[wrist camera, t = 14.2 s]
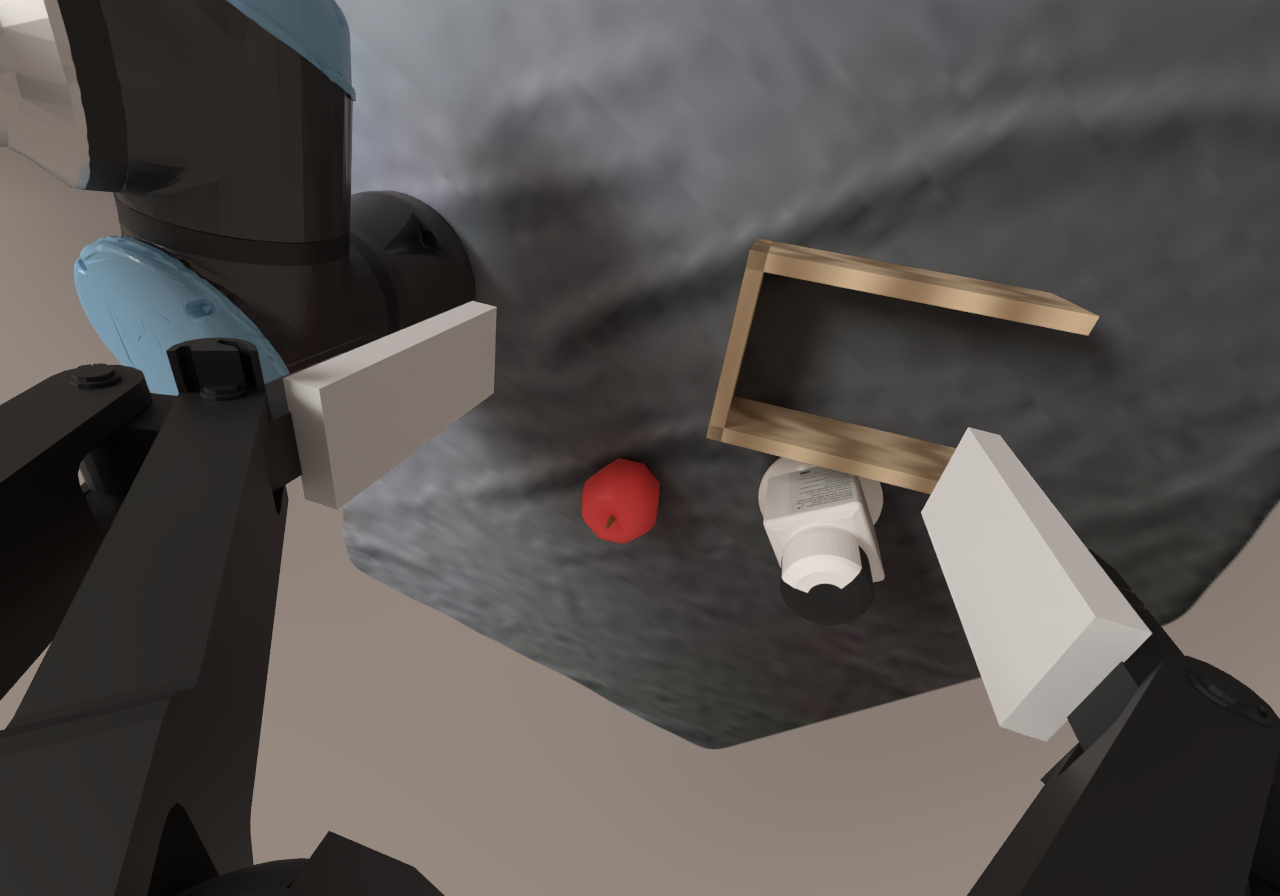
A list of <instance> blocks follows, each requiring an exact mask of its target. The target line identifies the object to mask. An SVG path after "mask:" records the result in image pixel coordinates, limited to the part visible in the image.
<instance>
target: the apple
mask: <svg viewBox="0 0 1280 896" xmlns="http://www.w3.org/2000/svg"><path fill="white" fill-rule="evenodd" d="M659 490H660V483H659V481H658V480H657V479H656V478H655V476H654V475H653V474H652V473H651V472H650V470H649V469H648V468H647V467H646V465H645V464H643V463H639V462H634V461H630V460H625V459H621V458H618V459H616V460H615V461H613V462H612V463H610V464H609V465H607V466H605V467H604V468H602V469H601V470H599V471H598V472H597V473H596V474H594V475H593V476H592V477H590V478H589V479H588V480H587V481H585V485H584V488H583V495H582V517H583V519H584V521H585V523H586V524H587V525H588V526H589V527H590V528H591V529H592V531H593V532H594V533H595V534H596V535H597V536H598V537H599V538H600V539H604V540H608V541H612V542H616V543H620V544H621V543H628V542H630V541H631V540H633V539H635V538H637V537H639V536H641V535H643V534H645V533H647V532H649V531H650V530H651V528H652V527H653V526H654V525H655V523H656V516H657V508H658V501H659Z"/></svg>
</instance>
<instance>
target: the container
mask: <svg viewBox="0 0 1280 896" xmlns="http://www.w3.org/2000/svg"><path fill="white" fill-rule="evenodd" d="M763 524H764V527H765V530H766V532H767V535H768V537H769V540H770V542H771V545H772V547H773V550H774V552H775V555H776V557H777V560H778V562H779V565H780V567H781V582H780V589H781V594H782V597H783V599H784V601H785V603H786V604H787V605H788V607H789V608H790V609H791V610H792V611H794V612H795V613H796V614H798V615H799V616H801V617H803V618H805V619H807V620H809V621H812V622H815V623H819V624H826V625H836V624H843V623H847V622H849V621H852V620H854V619H856V618H858V617H860V616H861V615H862V614H864V613H865V612H866V611H867V610H868V608H869V607H870V606H871V604H872V602H873V599H874V585H873V582H878V581H882V580H884V576H885V575H884V570H883V566H882V561H881V556H880V551H879V547H878V542H877V537H876V532H875V528H874V524H873V521H872V518H871V514H870V511H869V508H868V505H867V502H866V498H865V495H864V492H863V489H862V486H861V482H860V479H859V476H856V475H852V474H848V473H844V472H840V471H836V470H832V469H828V468H824V467H820V466H815V467H811V468H807V469H803V470H799V471H795V472H790V473H786V474H782V475H778V476H774V477H770V478H769V479H768V483H767V493H766V502H765V512H764V522H763Z"/></svg>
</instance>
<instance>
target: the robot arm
mask: <svg viewBox="0 0 1280 896" xmlns="http://www.w3.org/2000/svg"><path fill="white" fill-rule="evenodd" d="M353 101H356V93H355V90H354V88H353V87H352V81H351V51H350V32H349V27H348V23H347V21H346V18H345V16H344V14H343V12H342V10H341V9H340V7H339V6H338V4H337V3H336V2H335V0H0V147H6V148H8V149H10V150H12V151H15V152H17V153H19V154H21V155H23V156H25V157H26V158H27V159H29V160H30V161H32V162H33V163H35V164H36V165H38V166H39V167H41V168H42V169H44V170H45V171H47V172H48V173H49V174H51V175H52V176H54V177H55V178H57V179H58V180H60V181H61V182H63V183H64V184H66V185H67V186H69V187H70V188H76V189H82V190H93V191H105V192H113V194H114V197H115V202H116V206H117V211H118V216H119V222H120V227H121V233H122V236H121V237H119V236H108V237H103V238H102V239H98V240H97V242H95V243H92V244H89V245H88V246H86V247H85V248H84V249H83V250H82V252H81V253H80V258H79V259H77V260H76V262H75V266H74V280H75V286H76V290H77V294H78V297H79V299H80V302H81V304H82V307H83V309H84V311H85V313H86V315H87V317H88V319H89V321H90V322H91V324H92V326H93V327H94V329H95V331H96V332H97V334H98V335H99V336H100V338H101V339H102V341H103V342H104V344H105V345H106V346H107V347H108V349H109V350H110V351H111V352H112V353H113V355H114V356H115V357H116V358H117V359H118V361H119V362H121V364H122V365H123V366H122V365H106V364H93V365H82V366H79V367H78V368H75V369H71V370H67V371H63V372H61V373H58V374H56V375H53V376H51V377H49V378H47V379H45V380H44V381H42V382H40V383H38V384H37V385H35V386H33V387H31V388H30V389H28V390H26V391H25V392H23V393H21V394H19V395H17V396H16V397H14V398H12V399H10V400H9V401H7V402H5V403H3V404H2V405H0V700H1V699H2V698H3V697H4V696H5V695H6V693H7V692H8V691H9V690H10V689H11V688H12V687H13V685H14V684H15V683H16V682H17V681H18V680H19V679H20V677H21V676H22V675H23V674H24V673H25V672H26V671H27V669H28V668H29V667H30V666H31V665H32V664H33V663H34V661H35V660H36V659H37V658H38V657H39V656H40V654H41V653H42V652H43V651H44V650H45V649H46V648H47V646H48V645H49V644H50V643H51V642H52V643H51V645H50V647H49V649H48V651H47V653H46V655H45V656H44V658H43V660H42V663H41V664H40V666H39V668H38V670H37V672H36V674H35V676H34V678H33V680H32V682H31V684H30V686H29V688H28V690H27V692H26V694H25V696H24V698H23V700H22V702H21V704H20V706H19V708H18V709H17V711H16V713H15V716H14V717H13V719H12V720H11V722H10V723H9V724H8V726H7V727H6V729H5V730H1V731H0V896H444V895H443V894H442V893H441V892H440V891H439V890H438V889H437V888H436V887H435V886H434V885H433V884H432V883H431V882H430V881H428V880H427V879H426V878H425V877H424V876H423V875H422V874H421V873H420V872H418V870H417V869H416V868H415V867H413V866H410V865H408V864H406V863H403V862H401V861H399V860H396V859H394V858H391V857H389V856H387V855H385V854H382V853H380V852H377V851H375V850H373V849H370V848H368V847H366V846H363V845H361V844H359V843H356V842H354V841H352V840H349V839H347V838H345V837H342V836H340V835H337V834H335V833H333V832H330V831H329V832H328V833H327V835H326V836H325V837H324V839H323V840H322V842H321V843H320V844H319V846H318V847H317V849H316V850H315V852H314V853H313V854H312V856H311V858H310V859H305V858H299V859H287V860H276V861H271V862H266V863H261V864H256V865H253V855H252V845H251V834H250V818H251V817H250V816H251V806H252V797H253V789H254V781H255V773H256V764H257V756H258V747H259V739H260V731H261V723H262V714H263V705H264V698H265V690H266V681H267V673H268V665H269V655H270V648H271V640H272V631H273V623H274V615H275V607H276V598H277V590H278V582H279V574H280V564H281V557H282V549H283V540H284V532H285V524H286V515H287V507H288V495H287V491H286V484H287V483H289V482H291V481H292V480H294V479H295V478H297V477H299V476H300V475H301V478H302V484H303V489H304V495H305V499H307V500H310V501H313V502H316V503H319V504H322V505H325V506H328V507H332V508H334V509H339V508H340V507H341V506H343V505H344V504H345V503H347V502H348V501H349V500H351V499H352V498H353V497H355V496H356V495H357V494H359V493H360V492H361V491H363V490H364V489H365V488H367V487H368V486H369V485H371V484H372V483H373V482H375V481H376V480H378V479H379V478H380V477H382V476H383V475H384V474H386V473H387V472H388V471H390V470H391V469H392V468H394V467H395V466H396V465H398V464H399V463H400V462H402V461H403V460H404V459H406V458H407V457H408V456H410V455H411V454H412V453H414V452H415V451H417V450H418V449H419V448H421V447H422V446H423V445H425V444H426V443H427V442H429V441H430V440H431V439H433V438H434V437H435V436H437V435H438V434H439V433H441V432H442V431H443V430H445V429H446V428H447V427H449V426H450V425H451V424H453V423H454V422H455V421H457V420H458V419H460V418H461V417H462V416H464V415H465V414H466V413H468V412H469V411H470V410H472V409H473V408H474V407H476V406H477V405H478V404H480V403H481V402H482V401H484V400H485V399H486V398H488V397H489V396H490V395H492V394H493V393H494V373H495V343H496V313H497V307H495V306H491V305H487V304H483V303H479V302H475V285H474V279H473V274H472V269H471V266H470V263H469V260H468V257H467V255H466V253H465V250H464V248H463V247H462V245H461V243H460V241H459V239H458V238H457V236H456V235H455V233H454V232H453V230H452V229H451V228H450V226H449V225H448V224H447V223H446V222H445V221H444V220H443V218H442V217H441V216H440V215H438V214H437V213H436V212H435V211H434V210H433V209H432V208H430V207H429V206H427V205H426V204H425V203H423V202H421V201H420V200H418V199H416V198H414V197H412V196H409V195H407V194H404V193H400V192H395V191H367V192H360V193H356V194H353V195H351V160H352V108H353ZM149 389H150V390H151V391H152V392H154V393H150V392H149ZM79 469H80V471H81V473H82V476H83V478H84V480H85V482H84V483H83V484H82V485H81V486H80V484H79V478H78V471H79ZM921 514H922V516H923V519H924V522H925V525H926V527H927V530H928V533H929V535H930V538H931V541H932V544H933V546H934V549H935V552H936V555H937V557H938V560H939V563H940V565H941V568H942V571H943V574H944V576H945V579H946V582H947V584H948V587H949V590H950V593H951V595H952V598H953V601H954V603H955V606H956V609H957V612H958V614H959V617H960V620H961V623H962V625H963V628H964V631H965V633H966V636H967V639H968V642H969V644H970V647H971V650H972V652H973V655H974V658H975V661H976V663H977V666H978V669H979V671H980V674H981V677H982V679H983V682H984V685H985V688H986V691H987V693H988V696H989V699H990V701H991V704H992V707H993V710H994V712H995V715H996V717H997V720H998V723H999V726H1000V727H1003V728H1006V729H1009V730H1012V731H1015V732H1018V733H1021V734H1024V735H1027V736H1030V737H1033V738H1037V739H1039V740H1042V741H1046V742H1047V741H1048V740H1049V739H1050V738H1051V737H1052V736H1053V735H1054V734H1055V733H1056V732H1057V731H1058V730H1059V728H1060V727H1062V726H1063V725H1064V724H1065V722H1066V721H1067V720H1068V721H1069V723H1070V724H1071V727H1072V728H1073V731H1074V733H1075V735H1076V737H1077V739H1078V741H1079V743H1078V744H1077V745H1076V746H1075V747H1074V748H1072V749H1071V751H1069V752H1068V753H1067V754H1066V755H1065V756H1064V757H1063V758H1062V759H1061V760H1060V761H1059V762H1058V763H1057V764H1056V765H1055V766H1054V767H1053V768H1052V769H1051V770H1050V771H1049V772H1048V773H1047V774H1046V775H1045V776H1044V777H1043V778H1042V779H1041V781H1042V782H1043V783H1044V784H1045V786H1044V787H1043V788H1042V790H1041V791H1040V792H1039V794H1038V795H1037V797H1036V798H1035V800H1034V801H1033V802H1032V804H1031V805H1030V807H1029V808H1028V809H1027V811H1026V812H1025V814H1024V815H1023V817H1022V818H1021V819H1020V821H1019V822H1018V824H1017V825H1016V827H1015V828H1014V829H1013V831H1012V832H1011V834H1010V835H1009V837H1008V838H1007V839H1006V841H1005V842H1004V844H1003V845H1002V847H1001V848H1000V849H999V851H998V852H997V854H996V855H995V856H994V858H993V859H992V861H991V862H990V864H989V865H988V867H987V868H986V869H985V871H984V872H983V874H982V875H981V876H980V878H979V879H978V881H977V882H976V884H975V885H974V886H973V888H972V889H971V891H970V892H969V893H968V895H967V896H1280V719H1279V718H1278V716H1277V715H1276V714H1275V712H1274V711H1273V710H1272V708H1271V707H1270V706H1269V705H1268V704H1267V703H1266V702H1265V701H1264V700H1263V699H1261V698H1260V697H1259V696H1258V695H1257V694H1256V693H1255V692H1254V691H1252V690H1251V689H1250V688H1248V687H1247V686H1246V685H1244V684H1243V683H1241V682H1240V681H1238V680H1237V679H1235V678H1234V677H1232V676H1231V675H1229V674H1227V673H1225V672H1224V671H1222V670H1220V669H1218V668H1216V667H1214V666H1212V665H1210V664H1208V663H1206V662H1203V661H1201V660H1198V659H1195V658H1192V657H1189V656H1184V655H1183V653H1182V652H1181V651H1180V649H1179V648H1178V647H1177V646H1176V645H1175V643H1174V642H1173V641H1172V639H1171V638H1170V637H1169V636H1168V635H1167V633H1166V632H1165V631H1164V629H1163V628H1162V627H1161V626H1160V624H1159V623H1158V622H1157V621H1156V619H1155V618H1154V617H1153V616H1152V614H1151V613H1150V612H1149V611H1148V610H1147V609H1144V605H1143V603H1142V602H1141V601H1140V600H1139V598H1138V597H1137V596H1136V595H1135V593H1132V592H1131V588H1130V587H1129V586H1128V585H1127V583H1126V582H1125V581H1124V580H1123V578H1122V577H1121V576H1120V575H1119V573H1118V572H1117V571H1116V570H1115V569H1114V568H1113V567H1112V566H1110V565H1109V564H1108V563H1107V562H1105V561H1104V560H1103V559H1102V558H1100V557H1099V556H1098V555H1097V554H1095V553H1094V552H1093V551H1092V550H1089V549H1087V548H1086V547H1085V545H1084V544H1083V543H1082V542H1081V540H1080V539H1079V538H1078V536H1077V535H1076V534H1075V532H1074V531H1073V530H1072V529H1071V527H1070V526H1069V525H1068V523H1067V522H1066V521H1065V519H1064V518H1063V517H1062V516H1061V514H1060V513H1059V512H1058V510H1057V509H1056V508H1055V506H1054V505H1053V504H1052V503H1051V501H1050V500H1049V499H1048V497H1047V496H1046V495H1045V493H1044V492H1043V491H1042V490H1041V488H1040V487H1039V486H1038V484H1037V483H1036V482H1035V480H1034V479H1033V478H1032V477H1031V475H1030V474H1029V473H1028V471H1027V470H1026V469H1025V467H1024V466H1023V465H1022V464H1021V462H1020V461H1019V460H1018V458H1017V457H1016V456H1015V455H1014V453H1013V452H1012V451H1011V449H1010V448H1009V447H1008V445H1007V444H1006V443H1005V442H1004V440H1003V439H1002V438H1001V436H1000V435H997V434H993V433H989V432H985V431H981V430H977V429H973V428H969V427H968V429H967V430H966V432H965V434H964V436H963V438H962V439H961V441H960V443H959V445H958V447H957V448H956V450H955V452H954V454H953V456H952V457H951V459H950V461H949V463H948V465H947V467H946V468H945V470H944V472H943V474H942V476H941V477H940V479H939V481H938V483H937V485H936V486H935V488H934V490H933V492H932V494H931V495H930V497H929V499H928V501H927V503H926V504H925V506H924V508H923V510H922V512H921Z"/></svg>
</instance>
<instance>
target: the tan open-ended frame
mask: <svg viewBox="0 0 1280 896" xmlns="http://www.w3.org/2000/svg"><path fill="white" fill-rule="evenodd" d="M765 272H767V273H772V274H777V275H782V276H787V277H792V278H797V279H802V280H808V281H813V282H818V283H823V284H828V285H833V286H838V287H843V288H848V289H853V290H858V291H864V292H869V293H874V294H879V295H884V296H889V297H894V298H899V299H904V300H909V301H914V302H919V303H925V304H930V305H935V306H940V307H945V308H950V309H955V310H960V311H965V312H970V313H975V314H981V315H986V316H991V317H996V318H1001V319H1006V320H1011V321H1016V322H1021V323H1026V324H1031V325H1037V326H1042V327H1047V328H1052V329H1057V330H1062V331H1067V332H1072V333H1077V334H1082V335H1087V336H1088V335H1089V333H1090V332H1091V330H1092V328H1093V327H1094V325H1095V323H1096V321H1097V320H1098V318H1099V316H1098V315H1096V314H1093V313H1091V312H1089V311H1087V310H1085V309H1083V308H1081V307H1079V306H1077V305H1075V304H1073V303H1071V302H1069V301H1067V300H1065V299H1063V298H1060V297H1058V296H1056V295H1054V294H1052V293H1048V292H1042V291H1037V290H1032V289H1026V288H1021V287H1016V286H1010V285H1005V284H1000V283H994V282H989V281H984V280H978V279H973V278H968V277H962V276H957V275H951V274H946V273H941V272H935V271H930V270H925V269H919V268H914V267H909V266H903V265H898V264H893V263H887V262H882V261H876V260H871V259H866V258H860V257H855V256H850V255H844V254H839V253H834V252H828V251H823V250H818V249H812V248H807V247H801V246H796V245H791V244H785V243H780V242H775V241H769V240H764V239H759V238H757V239H756V241H755V243H754V244H753V246H752V248H751V249H750V252H749V257H748V261H747V265H746V269H745V274H744V278H743V282H742V287H741V291H740V295H739V299H738V304H737V308H736V312H735V316H734V321H733V325H732V329H731V334H730V338H729V342H728V346H727V351H726V355H725V359H724V363H723V368H722V372H721V376H720V381H719V385H718V389H717V393H716V398H715V402H714V406H713V410H712V415H711V419H710V423H709V428H708V432H707V436H706V438H709V439H713V440H717V441H721V442H724V443H728V444H732V445H736V446H740V447H744V448H748V449H752V450H756V451H760V452H764V453H768V454H772V455H776V456H780V457H784V458H788V459H792V460H796V461H800V462H804V463H808V464H812V465H816V466H820V467H824V468H828V469H832V470H836V471H840V472H844V473H848V474H852V475H856V476H860V477H864V478H868V479H872V480H876V481H880V482H884V483H888V484H892V485H896V486H900V487H904V488H908V489H912V490H916V491H919V492H923V493H927V494H932V492H933V490H934V488H935V486H936V485H937V483H938V481H939V479H940V477H941V476H942V474H943V472H944V470H945V468H946V467H947V465H948V463H949V461H950V459H951V457H952V456H953V454H954V452H955V450H956V448H953V447H948V446H944V445H940V444H936V443H931V442H927V441H923V440H919V439H915V438H910V437H906V436H902V435H898V434H893V433H889V432H885V431H881V430H876V429H872V428H868V427H864V426H860V425H855V424H851V423H847V422H843V421H838V420H834V419H830V418H826V417H821V416H817V415H813V414H809V413H805V412H800V411H796V410H792V409H788V408H783V407H779V406H775V405H771V404H766V403H762V402H758V401H754V400H750V399H745V398H741V397H737V396H734V392H735V388H736V384H737V380H738V376H739V372H740V368H741V365H742V361H743V357H744V353H745V349H746V345H747V341H748V337H749V333H750V329H751V325H752V321H753V317H754V313H755V309H756V305H757V301H758V297H759V293H760V289H761V285H762V281H763V277H764V273H765Z"/></svg>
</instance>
